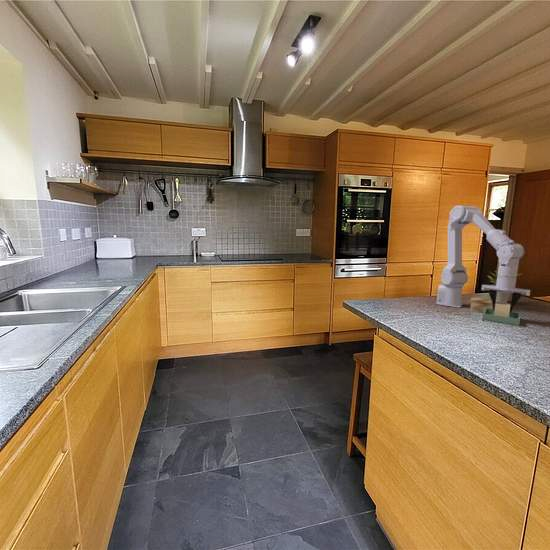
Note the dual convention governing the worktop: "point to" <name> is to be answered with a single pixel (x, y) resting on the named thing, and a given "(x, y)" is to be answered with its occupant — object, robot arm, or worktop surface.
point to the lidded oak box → (480, 304)
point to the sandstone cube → (502, 309)
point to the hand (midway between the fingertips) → (501, 310)
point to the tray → (501, 317)
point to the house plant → (500, 295)
